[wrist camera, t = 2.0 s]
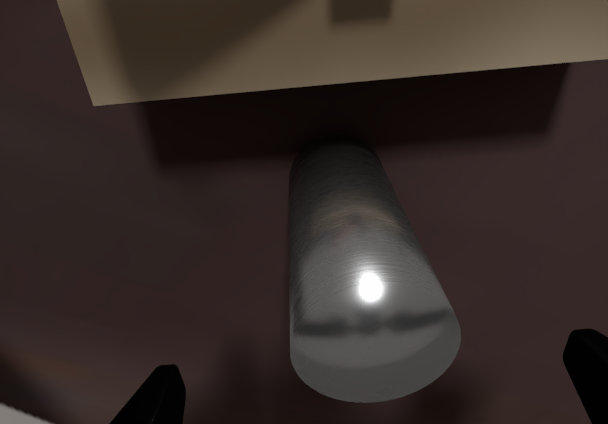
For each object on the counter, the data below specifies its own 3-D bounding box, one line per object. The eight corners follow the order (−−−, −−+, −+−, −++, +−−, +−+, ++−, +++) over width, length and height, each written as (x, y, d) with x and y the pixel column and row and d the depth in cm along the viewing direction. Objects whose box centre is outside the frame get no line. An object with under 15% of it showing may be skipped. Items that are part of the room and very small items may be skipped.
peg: (381, 215, 18) (451, 395, 11) (293, 223, 18) (297, 408, 11) (383, 131, 16) (471, 277, 8) (284, 140, 16) (281, 292, 9)
